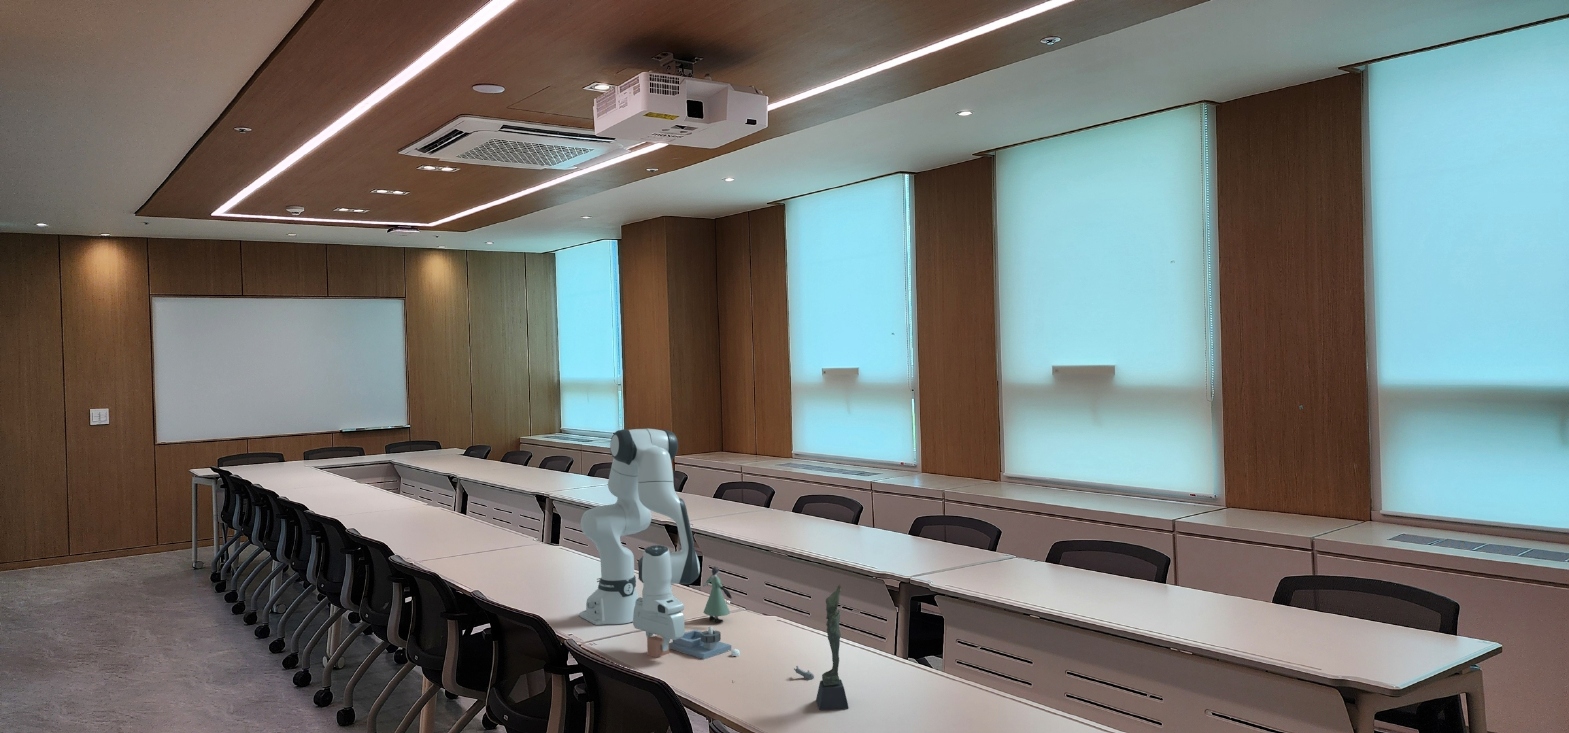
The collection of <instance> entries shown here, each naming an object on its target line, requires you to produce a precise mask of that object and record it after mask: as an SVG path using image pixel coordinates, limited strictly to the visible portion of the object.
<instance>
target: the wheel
mask: <svg viewBox="0 0 1569 733" xmlns="http://www.w3.org/2000/svg"><path fill="white" fill-rule="evenodd" d="M701 632H702V633H701V642H704V643H713V642H718V641H719V642H721V640H722V638H721V637H722V636H721V634H722V633H721V631H719V630H713V634H711V635H709V629H708V630H704V631H701Z"/></svg>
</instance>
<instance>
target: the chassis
mask: <svg viewBox="0 0 1569 733" xmlns="http://www.w3.org/2000/svg"><path fill="white" fill-rule="evenodd" d="M713 628H714V627H713V626H708V630H709V635H711V634H713ZM702 632H703V631H701V630H698V629H693V630H690V631H686V632H684V635H683V637H682V638H680V639H676V640H673V639H672V642H669V650H670V649H671V650H673V651H675V652H676V651H677V652H680V653H683V654H685V655H689V656H692V657H696V658H698V659H702V660H705V659H708V658H712V657H715V656H717V654H718V655H721V654H724V653H727V652H729V651H728V650H730V651H732V644H729V643H725V642H722V641H718V642H713V643H704V642H701V633H702ZM726 651H727V652H726ZM723 652H724V653H723Z"/></svg>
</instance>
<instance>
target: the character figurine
mask: <svg viewBox="0 0 1569 733" xmlns="http://www.w3.org/2000/svg"><path fill="white" fill-rule="evenodd" d="M719 573H720V569H719V567H718V566H713V567H712V569H711V575H710V576H709V577H708V579H707V580H706V581H705V583H703V585H702V587H704V588H705V587H706V586H709V584H710V583H711V590H710V593H709V596H708V598H707V601H706V605H705V607H704V610H703V614H705V615H706V616H709V621H711V622H712V621H714V623H716V624H717V623H721V622H723V621H724V620H723V619H721V618H719V617H725V616H728V615H730V613H731V612H730V609H729V606H728V605H727V602H726V599H725V596H726V597H727V598H728V599H733V597H732V595H731V593H730V591H729V590H728V589H726V588H725V587H724V586H723V584H722V580H721V579H720V577H719V576H718V574H719ZM722 590H723V591H722ZM723 593H724V594H723ZM724 595H725V596H724Z"/></svg>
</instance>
